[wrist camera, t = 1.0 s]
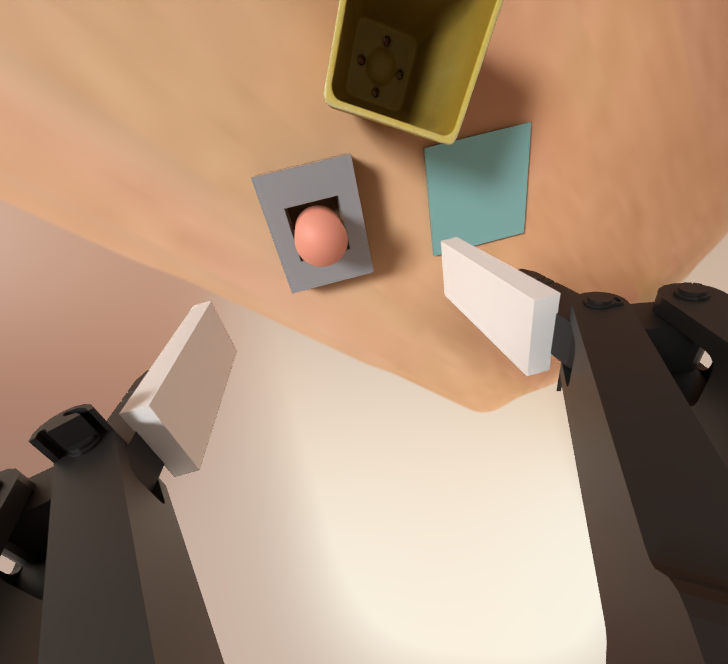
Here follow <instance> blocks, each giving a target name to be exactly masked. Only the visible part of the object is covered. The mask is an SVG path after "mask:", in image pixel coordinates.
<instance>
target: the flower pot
mask: <svg viewBox="0 0 728 664" xmlns="http://www.w3.org/2000/svg"><path fill="white" fill-rule="evenodd" d="M503 1H504V0H340V1H339V7H338V13H337V19H336V25H335V30H334V36H333V42H332V48H331V54H330V60H329V65H328V71H327V76H326V82H325V87H324V100H325V102H326V104H328V106H330V107H331V108H333V109H336V110H339V111H342V112H346V113H349V114H352V115H355V116H358V117H362V118H365V119H368V120H371V121H374V122H377V123H380V124H383V125H386V126H389V127H392V128H395V129H398V130H401V131H403V132H406V133H409V134H412V135H415V136H418V137H421V138H424V139H428V140H431V141H435V142H439V143H442V144H447V145H451V144H453V143H454V142H455V140H456V139H457V136H458V134H459V131H460V128H461V125H462V122H463V120H464V116H465V114H466V111H467V108H468V105H469V102H470V99H471V96H472V93H473V90H474V87H475V84H476V81H477V78H478V75H479V72H480V69H481V66H482V63H483V60H484V56H485V53H486V50H487V48H488V45H489V42H490V39H491V36H492V33H493V30H494V27H495V24H496V21H497V18H498V15H499V13H500V10H501V7H502V4H503ZM384 37H388V38H389V40H390V44H389V46H384V44H383V39H384ZM359 56H363V57H364V59H365V62H364V64H363V65H360V64H359V63H358V57H359ZM398 71H402V73H403V77H402V79H400V80H399V79H397V77H396V73H397V72H398ZM374 88H377V89H378V92H379V93H378V96H376V97H374V96H373V95H372V90H373V89H374Z"/></svg>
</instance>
